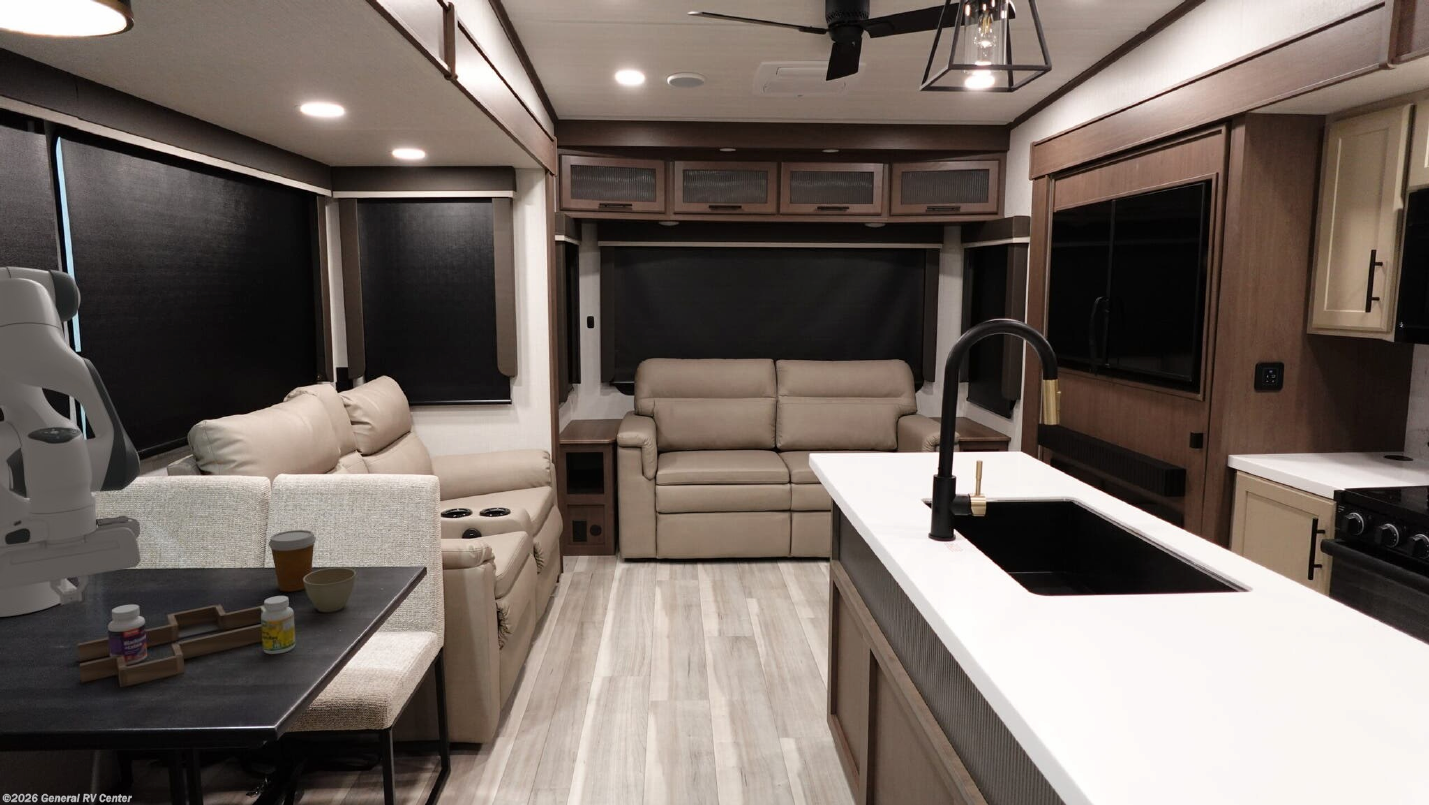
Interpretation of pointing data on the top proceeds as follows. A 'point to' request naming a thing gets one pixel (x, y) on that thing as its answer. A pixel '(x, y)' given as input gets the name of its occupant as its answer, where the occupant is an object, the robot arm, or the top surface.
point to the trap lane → (174, 644)
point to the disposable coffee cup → (292, 557)
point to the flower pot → (330, 588)
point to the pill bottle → (127, 634)
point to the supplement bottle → (277, 625)
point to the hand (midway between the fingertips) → (71, 602)
